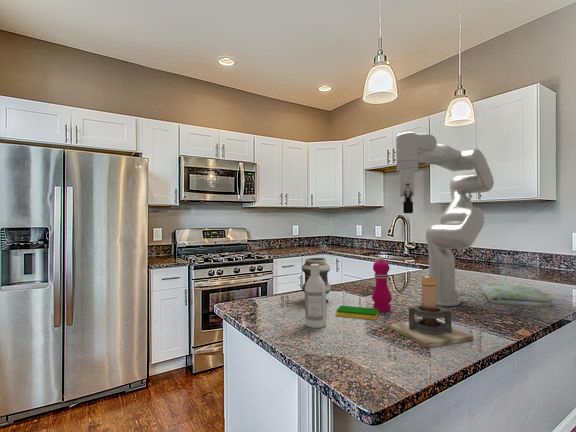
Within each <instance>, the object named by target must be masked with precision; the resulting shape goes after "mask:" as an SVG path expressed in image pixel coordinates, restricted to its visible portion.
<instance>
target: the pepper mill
mask: <svg viewBox="0 0 576 432" xmlns="http://www.w3.org/2000/svg"><path fill="white" fill-rule="evenodd" d="M372 270H373V272H374V278H375V286H374V289H373V291H372V294H371V300H372V301H373V305H372V307H373V308H375V309H378V312H389V311H391V304H390V303H391V302H392V300H393V298H392V293H391V291H390V289H389V287H388V278H389V271H390V265H389V263H388V262H387V261H386V260H385V261H384V257H383V256H379V257H378V260H377V261H375V262H373V265H372Z"/></svg>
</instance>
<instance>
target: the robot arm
mask: <svg viewBox="0 0 576 432" xmlns="http://www.w3.org/2000/svg"><path fill="white" fill-rule="evenodd" d="M395 139H396V140H395V141H396V142H395V145H396V146H395V147H396V148H395V149H396V153H395V154H396V172H397V173H399V178H398V179H399V197H400V198H401V199H402V198H403V202H402V203H403V204H402V205H403V208H402V209H403V214H413V213H414V202H413V198H414V197H415V191H416V190H415V189H416V172H417V171H419V163H420V164H424V165H425V164H427V165H435V166H438V167H441V168H443V169H445V170H448V171H450V172H453V173H454V172H455V173H457V172H458V173H459V172H465V171H474V172H471V173H463V174H458V175H456V176H453V177H452V178H451V180H450V181H449V188H450V189H449V190H450V191H449V192H450V196H451V201H450V203H449V204H448V206H447V207H446V209H445V210H444V212H443V213H442V214H441V217H440V223H435V224H432V225H430V226H429V227H427V229H426V231H425V239H426V241H425V242H426V245H427V250H428V272H429V273H428V275H431V276H436V304H437V306H439V307H440V306H441V307H442V306H443V307H455V306H458V305H460V304H461V300H460V299H458V298H459V297H465V296H466V293H465V292H464V291H457V290H456V259H455V256H454V253H453V251H452V250H453V249H456V250H467V249H469V248H470V247H472V245H473V244H474V242H475V241H476V239H477V237H478V236H479V234H480V233H481V231H482V228H483V227H484V224H485V213H484V212H483V210H482V209H481V208H479V207H476V206H474V205H473V203H472V200H471V199H470V197H468V196H467V194H477V193H487V192H490V191H491V190H492V189H493V187H494V183H495V182H494V180H495V179H494V177H493V173H492V171H491V169H490V166H489V164H488V161H487V159H486V157H485V155H484V153H483V152H482V151H481V150H480V149H478V148H470V149H466V150H458V149H456V148H453V147H452V146H450V145H447V144H442V143H438V141H437V139H436V137H435V136H434V135H433V134H431V133H416V132H414V131H406V132H401V133H398V134H397V135H396V138H395ZM451 249H452V250H451Z"/></svg>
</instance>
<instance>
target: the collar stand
mask: <svg viewBox="0 0 576 432" xmlns="http://www.w3.org/2000/svg"><path fill="white" fill-rule="evenodd" d="M415 315H416V316H418V317H421V318H418V319H415ZM422 317H425V318H436V319H437V327H429V326H424V325H422ZM442 318H444V322H443V321H440V320H438V319H442ZM452 322H453V321H452V310H451V309H450V308H449V309H448V308H443V307H442V306H441V307H440V306H439V305H437V312H427V311H422V304H419V305H416V306H408V322H401V323H399V322H398V323H395V324H393V323H392V324H390V329H391V330H393V331H395V332H396V333H398V334H400V335H403V336H404V337H406V338H407V339H409V340H411V341H413V342H414V343H416V344H419V345H420V346H422V347H423V348H427V349H428V348H434V347H440V346H446V345H452V344H457V343H458V344H459V343H464V342H471V341H474V335H471V334H470V333H468V332H465V331H463V330H460V329H458V328H455V327H453V326H452V325H453V323H452Z"/></svg>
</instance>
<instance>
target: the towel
mask: <svg viewBox="0 0 576 432" xmlns="http://www.w3.org/2000/svg"><path fill="white" fill-rule="evenodd" d="M480 291H481V292H482V294H483V295H484V296H485V297H486V298H487V299H488V301H489V302H491V303H492V304H500V305H511V306H512V305H514V306H529V307H546V308H548V307H551V302H553V301H554V299H553V298H552V297H551V295H549V294H548V293H546V292H545V291H543V290H541V289H539V288H536V287H532V286H521V285H520V286H518V285H511V284H502V283H492V282H485V283H483V284H480Z"/></svg>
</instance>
